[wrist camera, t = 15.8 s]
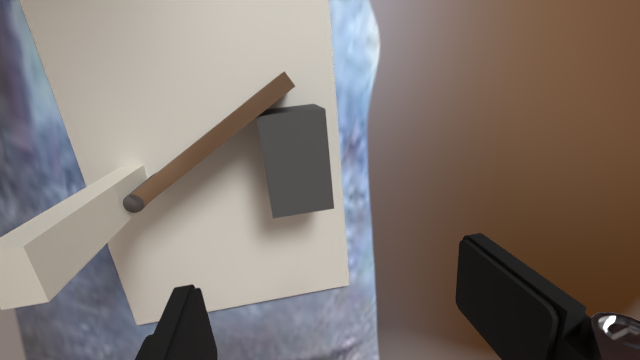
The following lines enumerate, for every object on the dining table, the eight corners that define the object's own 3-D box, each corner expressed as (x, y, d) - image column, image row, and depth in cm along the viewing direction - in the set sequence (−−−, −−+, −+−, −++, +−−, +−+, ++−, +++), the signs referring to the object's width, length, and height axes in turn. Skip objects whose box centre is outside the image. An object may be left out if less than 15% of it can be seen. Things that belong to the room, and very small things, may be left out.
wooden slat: (146, 179, 27) (118, 202, 21) (280, 72, 26) (283, 70, 21) (159, 190, 27) (133, 216, 22) (290, 86, 26) (296, 87, 21)
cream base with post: (26, -6, 22) (-379, -152, 8) (324, -22, 25) (398, -150, 11) (140, 318, 32) (42, 503, 18) (347, 279, 35) (401, 412, 21)
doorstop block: (258, 110, 27) (256, 116, 22) (314, 103, 27) (325, 108, 22) (271, 194, 29) (272, 218, 24) (322, 186, 30) (334, 208, 25)
